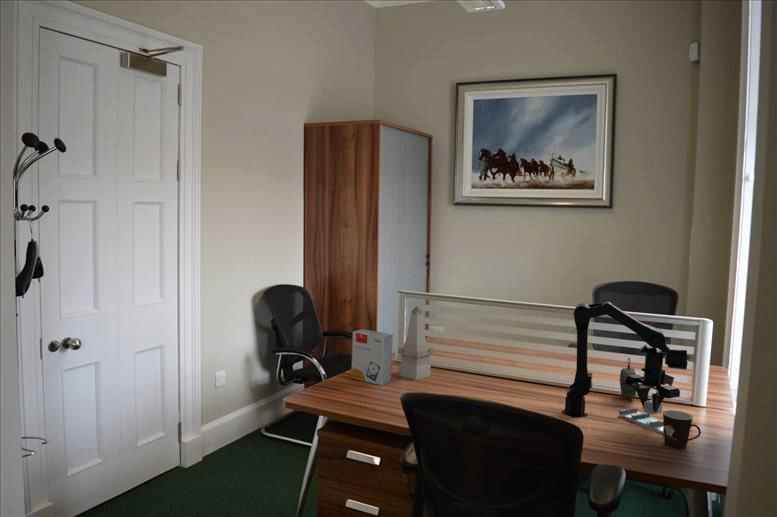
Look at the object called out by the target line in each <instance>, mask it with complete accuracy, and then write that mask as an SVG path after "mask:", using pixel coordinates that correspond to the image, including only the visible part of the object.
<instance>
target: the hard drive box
mask: <svg viewBox="0 0 777 517" xmlns="http://www.w3.org/2000/svg"><path fill="white" fill-rule="evenodd" d="M351 334H352V337H351V338H352V339H351V340H352V341H351V366H350V367H351V371H350V372H351V374H350V378H351V379H354V380H357V381H361V382H366V383H370V384H373V385H379V386H384V385H385V384H388V383H390V382H392V367H393V366H392V363H393V361H392V360H393V336H394V335H393V334H391V333H387V332H382V331H376V330H369V329H364V328H361V329H358V330H354V331H352V333H351Z"/></svg>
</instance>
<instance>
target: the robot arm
mask: <svg viewBox="0 0 777 517" xmlns="http://www.w3.org/2000/svg"><path fill="white" fill-rule="evenodd" d="M602 316H608V317H610V318H611V319H613V320H614V321H616V322H618V323H620V324H621V325H623V326H624V327H626V328H627V329H629V330H631V331H632V332H634V333H635V334H636V335H638V336H639V338H641V340H642V341H644V343H646V344H644V345H643V346H642V347H640V348H639V352H640V353H642V354H645V355H644V367H641V372H643V376H642V375H640V374H638V373H637V374H636V373H635V375H628V376H627V377H626V381H625V383H626V384H629V385H633V384H634V383H635V387H633V388H634V389H635V390H636V395H637V396H638V398H639V401H640V403H641V405H642V407H644V402H645V401H649V392H650V391H651V389H652V390H654V391H655V393H651V400H652V402H653V411H654V412H657V410H658V408H659V406H660V404H661V403H662V404H663V401H664V399H676V398H680V397H681V396H680V395H681V390H680V389H679V388H678V387H676V386H673V382H674V380H675V377H674V376H672V375H668V374H666V370H665V369H664V368H663V365H666V366H667V367H668V369H677V370H685V371H686V370H687V369H688V351H687V349H686V348H670V346H669V344H667V342H666V338H665V334H664V333H663V331H662V330H661V329H659V328H657V327H655V326H651V325H649V324H647V323H646V324H645V323H643V322H641V321H640V320H638V319H636V318H635V317H633V316H632V315H630V314H628V313H627V312H625V311H624V310H622V309H620V308H619V307H618V306H615V305H614V304H613V303H612V302H610V301H605V302H600V303H592V304H587V303H584V302H583V303H579V304H577V305H576V306H575V307H574V310H573V318H574V324H575V328H576V370H575V375H574V380H573V383H572V384H571V385H569V386H568V387H567V390H566V396H565V400H564V401H565V403H564V409H563V410H561V413H563V414H566V415H567V416H569V417H571V418H579V417H584V416H587V415H588V413H587V412H585V410H586V397H585V396H587V395H588V394H589V393H590V391H591V390H590V389H593V381H592V379H593V372H589V369H588V350H589V349H588V347H589V346H588V344H589V342H588V339H589V338H588V337H589V336H588V335H589V332H588V330H589V326H590V321H591V319H594V318H597V317H602ZM647 345H648V346H649V347H648V346H647Z"/></svg>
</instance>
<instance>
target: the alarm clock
mask: <svg viewBox="0 0 777 517" xmlns="http://www.w3.org/2000/svg"><path fill="white" fill-rule="evenodd" d="M627 361H628V363H627V367H623V368H621V371H620V374H619V386H620V387H619V388H620V394H621V396H619V398H622V397H625V398H629V400H630V401H629V402H630V403H632V402H633V401H632V400H633V398H635V397H636V395H637V392H636V390H635V389H634V388H633V387H635V383H634V384H633V385H629V384H626V383H625V381H626V377H627V376H628V375H635V374H636V371H635V368H633V367H631V358H630V357H628V359H627Z"/></svg>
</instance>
